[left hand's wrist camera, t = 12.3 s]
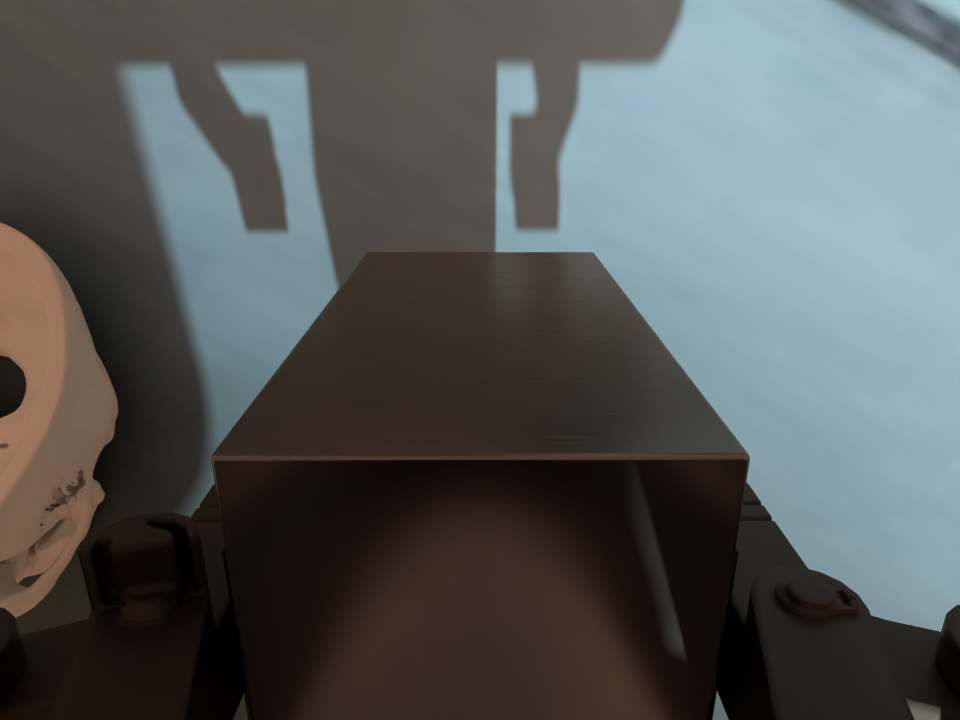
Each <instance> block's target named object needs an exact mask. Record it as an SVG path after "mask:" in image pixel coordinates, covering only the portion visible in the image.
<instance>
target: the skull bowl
mask: <svg viewBox="0 0 960 720" xmlns="http://www.w3.org/2000/svg"><path fill="white" fill-rule="evenodd" d="M0 356H5V357H9V358H11V359H12V360H13V361H14V362H15V363H16V364H17V365H18V366H19V367H20V368H21V369H22V370H23V372H24V375H25V378H26V393H25V396H24V399H23V402H22V404H21V405H20V407H19V408H18V409H17V410H16V411H15V412H13V413H11V414H9V415H7V416H4V417H2V418H0V608H5V609H6V610H7V611H9V612H10V613H11V614H12V615H14V616H15V618H16V617H18V616H20V615H22V614H24V613H26V612H27V611H29V610H30V609H32V608H33V607H34V606H36V605H37V604H38V603H39V602H40V601H41V600H42V599H43V598H44V597H45V596H46V595H47V594H48V593H49V591H50V590H51V589H52V588H53V586H54V585H55V583H56V581H57V579H58V577H59V576H60V575H61V573H62V572H63V570H64V569H65V568H66V566H67V565H68V563H69V562H70V560H71V559H72V557H73V555H74V553H75V550H76V549H77V547H78V546H79V544H80V542H81V541H82V540H83V539H84V538H85V536H86V534H87V532H88V530H89V527H90V524H91V521H92V518H93V515H94V513H95V510H96V508H97V506H98V504H99V503H101V502H102V501H103V499H104V496H105V493H104V491H103V490H102V488H101V485H100V483H99V482H98V481H96V480H94V479H93V478H92V477H93V470H94V467H95V464H96V462H97V459H98V456H99V454H100V452H101V451H102V449H103V447H104V446H105V445H107V444H108V443H109V442H110V441H111V440H112V439H113V436H114V432H115V422H116V418H117V416H118V402H117V398H116V394H115V391H114V388H113V386H112V383H111V381H110V379H109V375H108V373H107V371H106V369H105V367H104V365H103V363H102V361H101V359H100V357H99V356H98V354H97V352H96V350H95V347H94V344H93V341H92V337H91V334H90V332H89V329H88V326H87V324H86V321H85V318H84V316H83V313H82V310H81V308H80V305H79V304H78V302H77V300H76V298H75V295H74V293H73V291H72V289H71V287H70V285H69V283H68V281H67V280H66V278H65V277H64V275H63V274H62V272H61V271H60V269H59V268H58V266H57V265H56V264H55V263H54V261H53V260H52V259H51V258H50V257H49V256H48V254H47V253H46V252H44V251H43V250H42V248H41V247H40V246H38V245H37V244H36V243H35V242H34V241H32V240H31V239H30V238H29V237H27V236H26V235H24V234H22V233H21V232H19V231H17V230H16V229H14V228H12V227H10V226H8V225H6V224H3V223H0ZM43 572H44V573H43ZM40 573H43V574H42V575H41V576H40V577H39V578H38V579H37V581H36V582H35V583H34V584H33V585H31V586H30V587H28V588H27V587H24V586H21V585H20V584H18V583H19V582H20V581H21V580H22V579H23V578H25V577H28V576H33V575H37V574H40Z"/></svg>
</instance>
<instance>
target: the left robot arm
mask: <svg viewBox="0 0 960 720" xmlns="http://www.w3.org/2000/svg"><path fill="white" fill-rule="evenodd" d="M771 518H772V517H771V516H770V514H769V513H768V511H767V510H766V509H765V507H764V506H761V501H760V500H759V499H758V497H757V496H756V494H755V493H754V492H753V490H752V489H751V487H750V486H749V484H748V483H746V486H745V492H744V499H743V505H742V512H741V518H740V525H739V531H738V537H737V544H736V550H735V557H734V563H733V570H732V576H731V582H730V589H729V595H728V602H727V608H726V615H725V621H724V628H723V634H722V640H721V647H720V653H719V660H718V666H717V673H716V679H715V686H714V692H713V698H712V705H711V711H710V718H709V720H712V718H713V711H714V705H715V699H716V692H717V691H718V694H719V696H720V699H721V701H722V704H723V706H724V709H725V711H726V714H727V716H728V718H729V720H960V605H957V606H955V607H954V608H953V609H952V610H950V611H949V612H948V613H947V614H946V617H945V620H944V624H943V627H942V631H941V632H939V631H934V630H930V629H925V628H920V627H916V626H911V625H906V624H902V623H897V622H892V621H888V620H885V619H881V618H878V617H874V616H871V615H870V612H869V610H868V608H867V607H866V605H865V604H864V603H863V601H862V600H861V598H860V597H859V595H858V594H856V593H855V592H854V591H852V590H851V589H850V588H848V587H847V586H846V585H844V584H843V583H842V582H840V581H838V580H836V579H834V578H832V577H829V576H827V575H825V574H823V573H821V572H817V571H813V570H809V569H808V568H807V567H806V565H805V564H804V562H803V561H802V560H801V558H800V557H799V555H798V554H797V552H796V551H795V550H794V548H793V547H792V545H791V544H790V543H789V541H788V540H787V538H786V537H785V535H784V534H783V533H782V531H781V530H780V528H779V527H778V526H777V524H776V523H775V521H772V519H771ZM78 555H79V559H80V563H81V567H82V571H83V575H84V579H85V583H86V588H87V592H88V596H89V600H90V604H91V608H92V611H91V613H90V616H89V618H88V619H86V620H83V621H79V622H76V623H72V624H68V625H63V626H58V627H54V628H49V629H44V630H40V631H35V632H30V633H26V634H21V635H20V632H19V629H18V625H17V622H16V618H15V616H14V615H12V614H11V613H10V612H9V611H7V610H6V609H5V608H0V720H233V718H234V716H235V713H236V711H237V708H238V706H239V703H240V701H241V698H242V696H243V693H244V696H245V702H246V709H247V715H248V720H252V719H251V712H250V706H249V699H248V693H247V687H246V680H245V674H244V667H243V661H242V654H241V648H240V641H239V635H238V628H237V622H236V615H235V609H234V602H233V596H232V589H231V583H230V577H229V570H228V564H227V557H226V551H225V544H224V538H223V531H222V525H221V518H220V512H219V505H218V499H217V492H216V486H215V485H213V486H212V488H211V489H210V491H209V492H208V494H207V495H206V496H205V498H204V499H203V501H202V502H201V504H200V508H197V509H196V511H195V512H194V514H193V515H192V516H191V518H190V517H188V516H184V515H180V514H176V513H149V514H145V515H140V516H135V517H131V518H127V519H125V520H122V521H120V522H117V523H115V524H112V525H110V526H107V527H106V528H104V529H103V530H101V531H99V532H98V533H96V534H95V535H93V536H92V537H90V538H89V539H88V540H87V541H86V543H85V544H84V545H83V546H82V547H81V549H80V550H79V551H78Z"/></svg>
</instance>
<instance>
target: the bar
mask: <svg viewBox="0 0 960 720" xmlns="http://www.w3.org/2000/svg"><path fill="white" fill-rule="evenodd" d="M211 460H212V467H213V473H214V479H215V486H216V492H217V499H218V505H219V512H220V518H221V525H222V531H223V538H224V544H225V551H226V557H227V564H228V570H229V577H230V583H231V589H232V596H233V602H234V609H235V615H236V622H237V628H238V635H239V641H240V648H241V654H242V661H243V667H244V674H245V680H246V687H247V693H248V699H249V706H250V712H251V719H252V720H709V718H710V711H711V705H712V698H713V692H714V686H715V679H716V673H717V666H718V660H719V653H720V647H721V640H722V634H723V628H724V621H725V615H726V608H727V602H728V595H729V589H730V582H731V576H732V570H733V563H734V557H735V550H736V544H737V537H738V531H739V525H740V518H741V512H742V505H743V499H744V492H745V486H746V479H747V473H748V467H749V460H750V458H749V455H748V453H747V452H746V451H745V449H744V448H743V447H742V445H741V444H740V443H739V441H738V440H737V439H736V438H735V436H734V435H733V434H732V432H731V431H730V430H729V428H728V427H727V426H726V424H725V423H724V422H723V421H722V419H721V418H720V417H719V415H718V414H717V413H716V411H715V410H714V409H713V408H712V406H711V405H710V404H709V402H708V401H707V400H706V398H705V397H704V396H703V395H702V393H701V392H700V391H699V389H698V388H697V387H696V385H695V384H694V383H693V382H692V380H691V379H690V378H689V376H688V375H687V374H686V372H685V371H684V370H683V369H682V367H681V366H680V365H679V363H678V362H677V361H676V359H675V358H674V357H673V356H672V354H671V353H670V352H669V350H668V349H667V348H666V346H665V345H664V344H663V343H662V341H661V340H660V339H659V337H658V336H657V335H656V333H655V332H654V331H653V330H652V328H651V327H650V326H649V324H648V323H647V322H646V320H645V319H644V318H643V317H642V315H641V314H640V313H639V311H638V310H637V309H636V307H635V306H634V305H633V303H632V302H631V301H630V300H629V298H628V297H627V296H626V294H625V293H624V292H623V290H622V289H621V288H620V287H619V285H618V284H617V283H616V281H615V280H614V279H613V277H612V276H611V275H610V274H609V272H608V271H607V270H606V268H605V267H604V266H603V264H602V263H601V262H600V261H599V259H598V258H597V257H596V255H595V254H594V253H592V252H368V253H366V254H365V256H364V257H363V258H362V260H361V261H360V262H359V264H358V265H357V266H356V268H355V269H354V270H353V271H352V273H351V274H350V275H349V277H348V278H347V279H346V281H345V282H344V283H343V285H342V286H341V287H340V288H339V290H338V291H337V292H336V294H335V295H334V296H333V298H332V299H331V300H330V302H329V303H328V304H327V305H326V307H325V308H324V309H323V311H322V312H321V313H320V315H319V316H318V317H317V319H316V320H315V321H314V322H313V324H312V325H311V326H310V328H309V329H308V330H307V332H306V333H305V334H304V336H303V337H302V338H301V339H300V341H299V342H298V343H297V345H296V346H295V347H294V349H293V350H292V351H291V352H290V354H289V355H288V356H287V358H286V359H285V360H284V362H283V363H282V364H281V366H280V367H279V368H278V369H277V371H276V372H275V373H274V375H273V376H272V377H271V379H270V380H269V381H268V383H267V384H266V385H265V386H264V388H263V389H262V390H261V392H260V393H259V394H258V396H257V397H256V398H255V400H254V401H253V402H252V403H251V405H250V406H249V407H248V409H247V410H246V411H245V413H244V414H243V415H242V417H241V418H240V419H239V420H238V422H237V423H236V424H235V426H234V427H233V428H232V430H231V431H230V432H229V434H228V435H227V436H226V437H225V439H224V440H223V441H222V443H221V444H220V445H219V447H218V448H217V449H216V451H215V452H214V453H213V455H212V458H211Z"/></svg>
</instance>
